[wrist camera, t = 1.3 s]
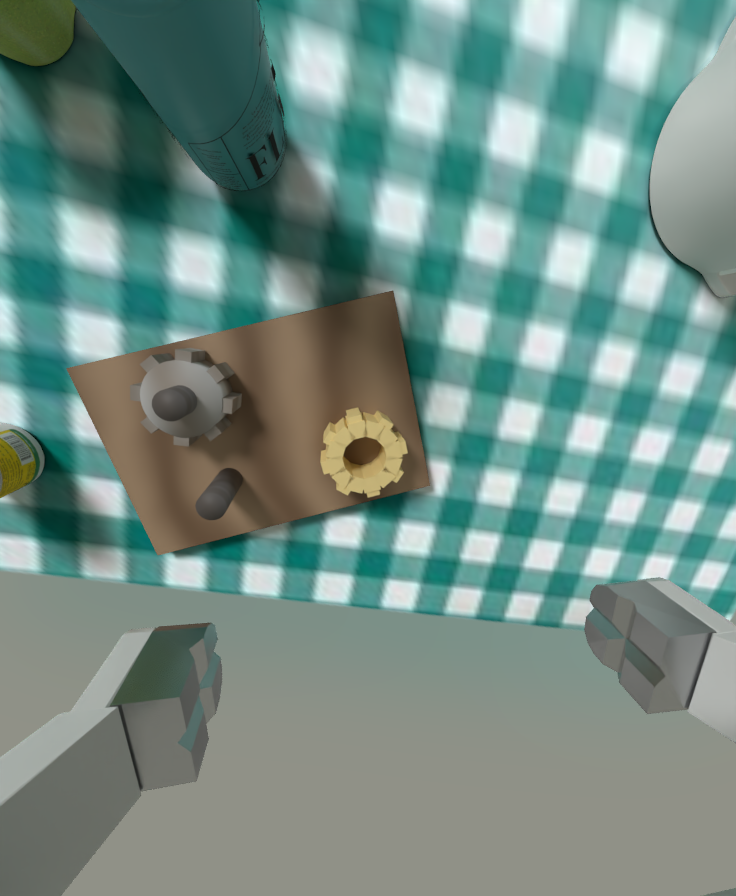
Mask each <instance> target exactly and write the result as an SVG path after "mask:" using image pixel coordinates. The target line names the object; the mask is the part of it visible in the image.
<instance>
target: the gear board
mask: <svg viewBox="0 0 736 896" xmlns="http://www.w3.org/2000/svg"><path fill="white" fill-rule="evenodd" d="M66 369H67V371H68V373H69V375H70V377H71V379H72V381H73V383H74V385H75V387H76V389H77V391H78V393H79V395H80V397H81V399H82V401H83V403H84V405H85V407H86V410H87V412H88V414H89V416H90V418H91V420H92V422H93V424H94V426H95V428H96V430H97V432H98V434H99V436H100V438H101V440H102V442H103V444H104V446H105V448H106V450H107V452H108V455H109V457H110V459H111V461H112V463H113V465H114V467H115V469H116V471H117V473H118V475H119V477H120V479H121V481H122V483H123V485H124V487H125V489H126V491H127V493H128V495H129V498H130V500H131V502H132V504H133V506H134V508H135V510H136V512H137V514H138V516H139V518H140V520H141V522H142V524H143V526H144V528H145V530H146V532H147V534H148V536H149V538H150V541H151V543H152V545H153V547H154V549H155V551H156V553H157V555H161V554H165V553H169V552H173V551H177V550H180V549H184V548H188V547H192V546H196V545H200V544H204V543H208V542H212V541H216V540H219V539H223V538H227V537H231V536H235V535H239V534H243V533H247V532H251V531H255V530H258V529H262V528H266V527H270V526H274V525H278V524H282V523H286V522H290V521H294V520H297V519H301V518H305V517H309V516H313V515H317V514H321V513H325V512H329V511H333V510H336V509H340V508H344V507H348V506H352V505H356V504H360V503H364V502H368V501H371V500H375V499H379V498H383V497H387V496H391V495H395V494H399V493H403V492H407V491H410V490H414V489H418V488H422V487H426V486H430V483H429V478H428V472H427V467H426V462H425V457H424V451H423V446H422V441H421V435H420V430H419V425H418V420H417V414H416V409H415V404H414V398H413V393H412V388H411V383H410V377H409V372H408V367H407V361H406V356H405V351H404V346H403V340H402V335H401V330H400V324H399V319H398V314H397V309H396V303H395V298H394V293H393V291H389V292H385V293H381V294H377V295H373V296H368V297H364V298H360V299H356V300H352V301H347V302H343V303H339V304H335V305H331V306H326V307H322V308H318V309H314V310H310V311H305V312H301V313H297V314H293V315H289V316H284V317H280V318H276V319H272V320H268V321H263V322H259V323H255V324H251V325H247V326H242V327H238V328H234V329H230V330H226V331H221V332H217V333H213V334H209V335H205V336H200V337H196V338H192V339H188V340H184V341H179V342H175V343H171V344H167V345H163V346H158V347H154V348H150V349H146V350H142V351H138V352H133V353H129V354H125V355H121V356H117V357H112V358H108V359H104V360H100V361H96V362H91V363H87V364H83V365H79V366H75V367H70V368H66ZM357 407H358V408H359V411H360V412H361V413H362V415H363V412H365V413H369V414H372V415H375V413H376V411H377V410H378V411H380V412H381V413H383V414H385V415H386V416H388V418H389V419H390V420H391V422H392V423H393V424H394V425H393V426H392V428H391V429H392V430H393V432H399V433H400V434H401V436H402V437H403V438H404V440H405V442H406V447H407V451H408V453H407V454H403V455H402V456H403V457H401V458H402V459H403V460H402V462H401V465H400V466H401V468H402V470H403V472H404V473H403V475H402V476H401V477H400V479H399V480H398V482H397V483H396V482H394V481H391V482H390V483H389V484H387V485H386V486H385V487H384V488H383V487H381V486H380V487H381V490H379V491H380V495H376V496H373V497H369V498H368V497H367V493H364V490H363V493H357V492H353V491H350V493H349V494H348V495H346V494H344V493H342V492H340V491H338V490H336V481H335V480H334V479H333V478H332V475H330V473H328V474H324V473H323V470H322V466H321V463H320V460H321V451H322V450H326V444H325V443H324V442H323V434H324V431H325V429H326V428H327V426H328V424H329V423H330V422H331V423H333V424H334V425H335V424H336V423H337V422H338V421H340V420H341V419H342V418H343V417H344V418H345V419H346V417H345V416H347V413H346V410H349V409H353V408H357ZM380 448H381V444H380V443H379V442H378V441H377V440H376V439H372V438H368V437H362V438H358V439H354V440H353V441H352V442H351V443H350V444H349V445H348V446H347V447H346V448H345V451H344V454H343V456H344V457H345V458H346V459H347V460H348V461H349V462H350V463H353V464H357V465H364V464H368V463H371V462H372V461H373V460H374V459H375V458H376V457H377V456H378V454H379V451H380Z"/></svg>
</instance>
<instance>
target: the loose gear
mask: <svg viewBox="0 0 736 896" xmlns="http://www.w3.org/2000/svg"><path fill="white" fill-rule="evenodd" d="M346 413H347V416H345V417H346V419H345V418H344V417H343V418H342V419H341V420H340V421H338V422H337V423H336V424H335V425H334V424H333V423H331V422H330V423H329V424H328V426H327V428H326V429H325V431H324V434H323V442H324V443H325V444H326V450H322V451H321V460H320V463H321V466H322V470H323V473H324V474H328V473H330V475H332V478H333V479H334V480H335V481H336V490H338V491H340V492H342V493H344V494H346V495H348V494H349V493H350V491H353V492H357V493H363V490H364V493H367V497H368V498H369V497H373V496H376V495H380V491H379V490H381V487H383V488H384V487H385V486H386V485H387V484H389V483H390V482H391V481H394V482H396V483H397V482H398V480H399V479H400V477H401V476H402V475H403V473H404V472H403V470H402V468H401V466H400V465H401V462H402V460H403V459H402V458H401V457H403V456H402V455H403V454H407V453H408V451H407V447H406V442H405V440H404V438H403V437H402V436H401V434H400V433H399V432H393V430H392V429H391V428H392V426H393V425H394V424H393V423H392V422H391V420H390V419H389V418H388V416H386V415H385V414H383V413H381V412H380V411H378V410H377V411H376V413H375V415H372V414H369V413H365V412H363V415H362V413H361V412H360V411H359V408H358V407H357V408H353V409H349V410H346ZM362 437H368V438H372V439H376V440H377V441H378V442H379V443H380V444H381V448H380V451H379V454H378V456H377V457H376V458H375V459H374V460H373V461H372V462H371V463H368V464H364V465H357V464H353V463H350V462H349V461H348V460H347V459H346V458H345V457H344V456H343V454H344V451H345V448H346V447H347V446H348V445H349V444H350V443H351V442H352V441H353V440H354V439H358V438H362ZM380 486H381V487H380Z"/></svg>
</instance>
